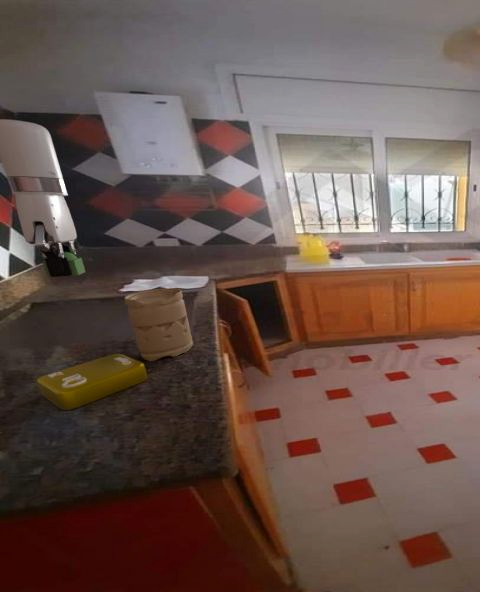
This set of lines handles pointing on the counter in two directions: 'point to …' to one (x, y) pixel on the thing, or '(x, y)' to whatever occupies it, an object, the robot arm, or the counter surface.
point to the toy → (71, 264)
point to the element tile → (91, 381)
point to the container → (159, 323)
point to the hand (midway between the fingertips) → (66, 273)
